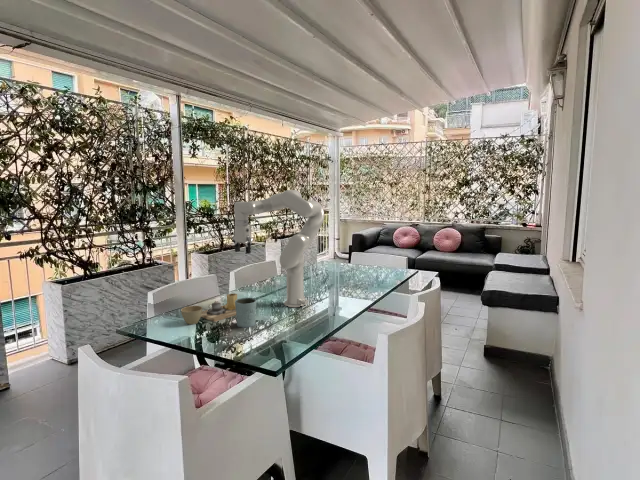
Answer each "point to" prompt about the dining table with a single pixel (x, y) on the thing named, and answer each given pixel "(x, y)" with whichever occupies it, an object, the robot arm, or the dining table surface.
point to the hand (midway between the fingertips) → (242, 252)
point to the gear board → (217, 312)
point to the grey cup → (245, 312)
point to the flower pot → (191, 314)
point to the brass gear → (230, 302)
